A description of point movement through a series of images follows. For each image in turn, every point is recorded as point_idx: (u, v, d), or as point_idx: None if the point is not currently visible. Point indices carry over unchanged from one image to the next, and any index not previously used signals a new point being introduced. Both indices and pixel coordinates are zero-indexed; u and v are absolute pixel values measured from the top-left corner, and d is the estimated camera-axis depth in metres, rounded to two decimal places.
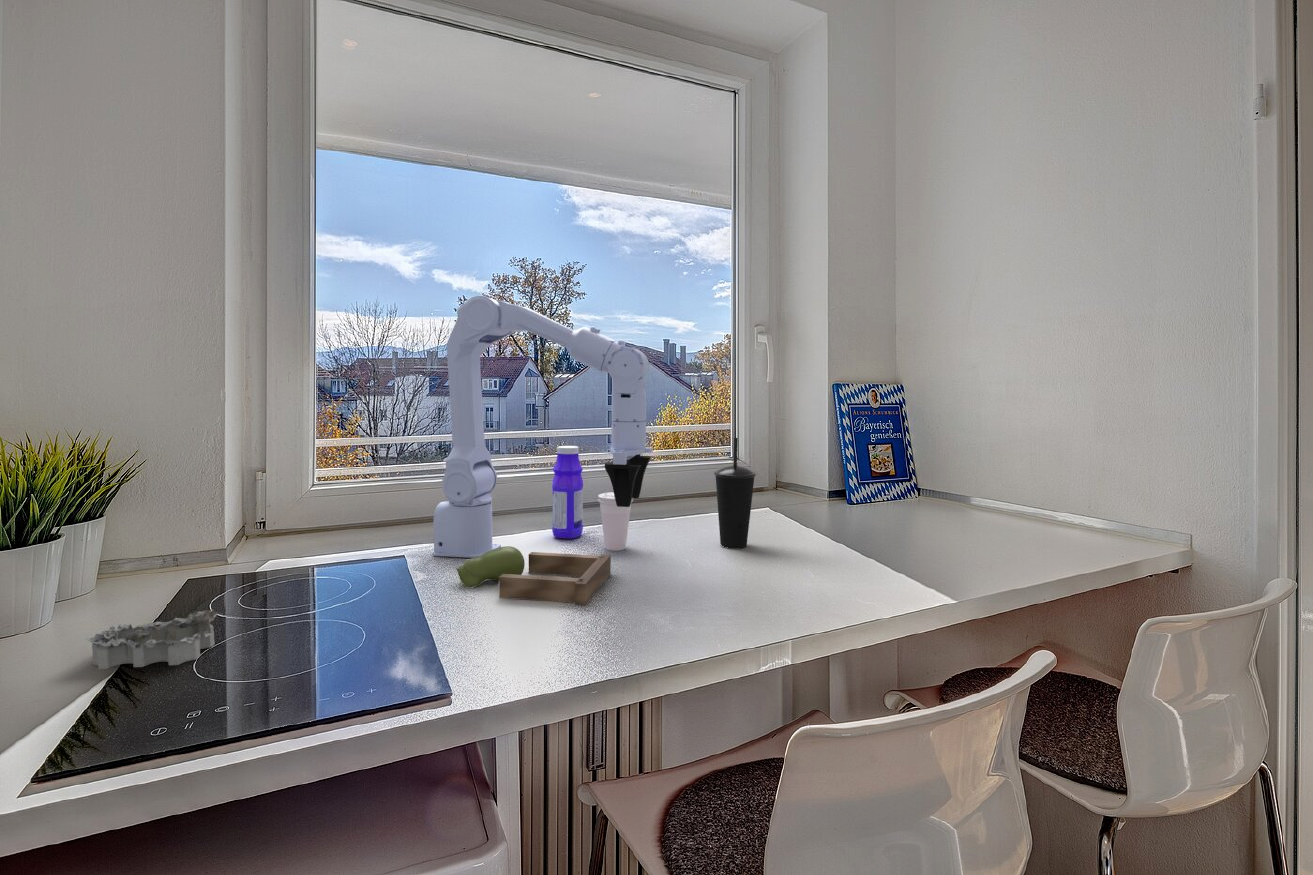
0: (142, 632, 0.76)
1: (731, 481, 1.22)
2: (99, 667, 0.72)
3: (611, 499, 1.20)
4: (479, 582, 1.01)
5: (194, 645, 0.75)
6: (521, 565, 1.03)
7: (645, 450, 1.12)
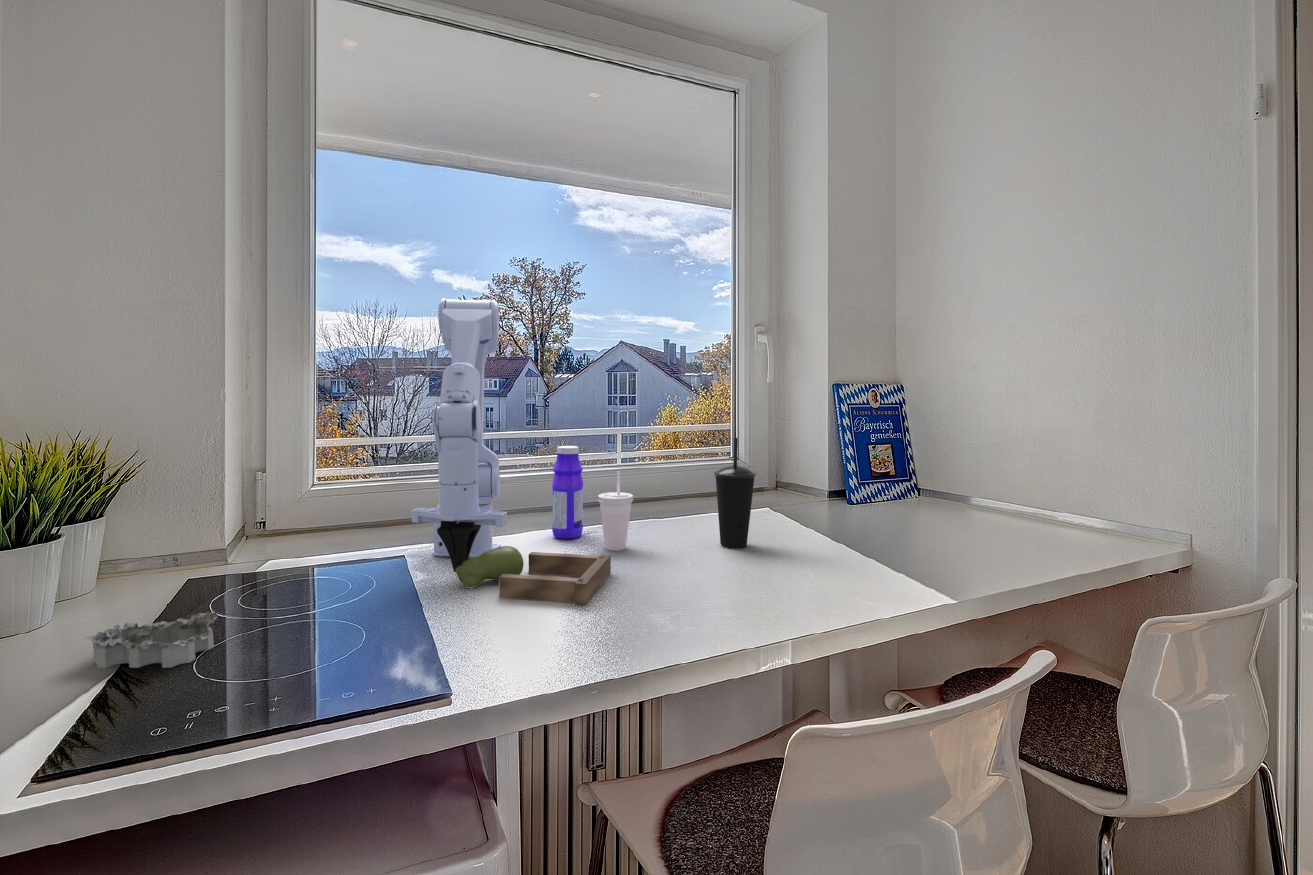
0: (143, 632, 0.76)
1: (731, 481, 1.22)
2: (97, 666, 0.73)
3: (611, 499, 1.20)
4: (478, 582, 1.00)
5: (188, 648, 0.74)
6: (520, 564, 1.03)
7: None
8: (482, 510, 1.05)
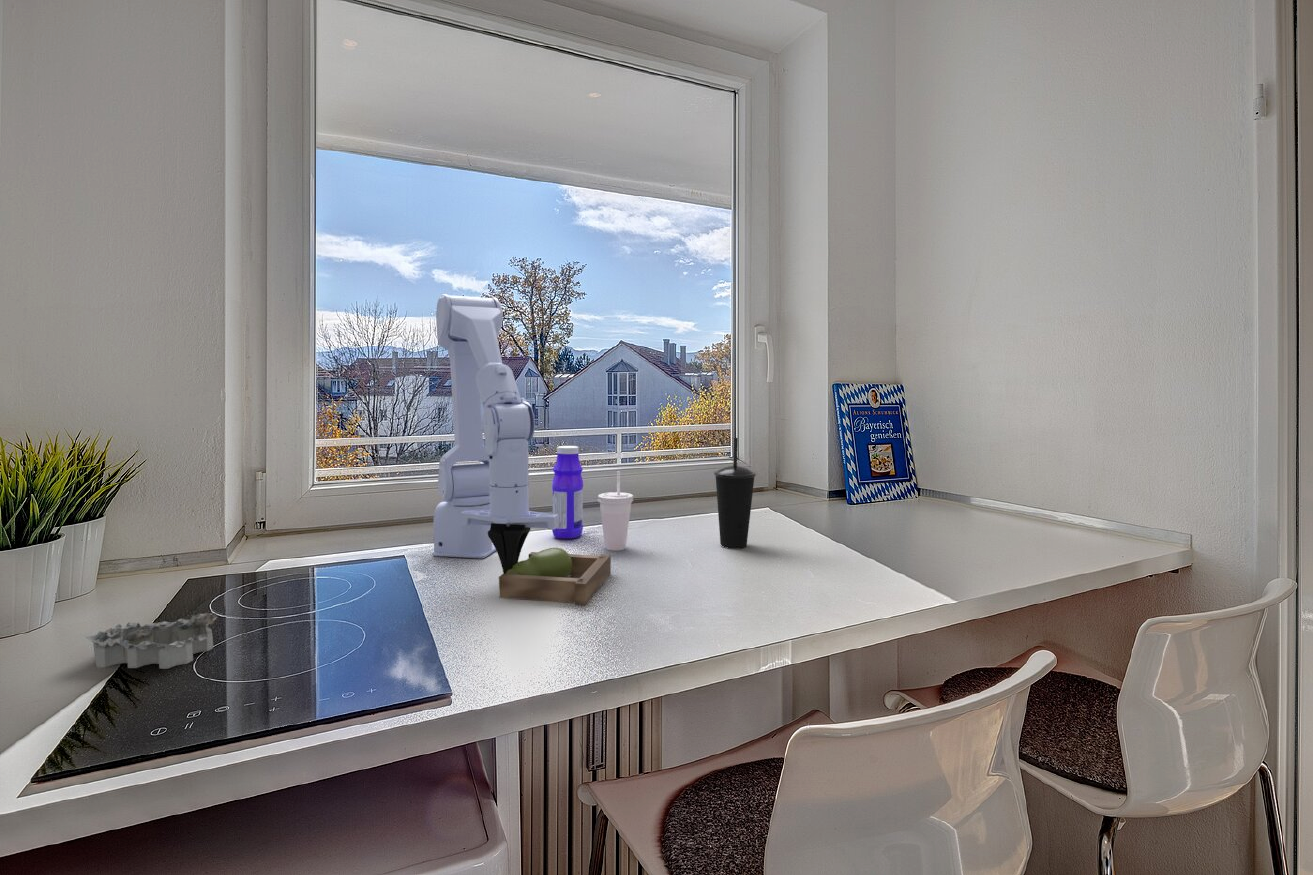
0: (143, 632, 0.76)
1: (731, 481, 1.22)
2: (97, 665, 0.73)
3: (611, 499, 1.20)
4: None
5: (185, 649, 0.74)
6: (570, 565, 1.02)
7: None
8: (532, 512, 1.03)
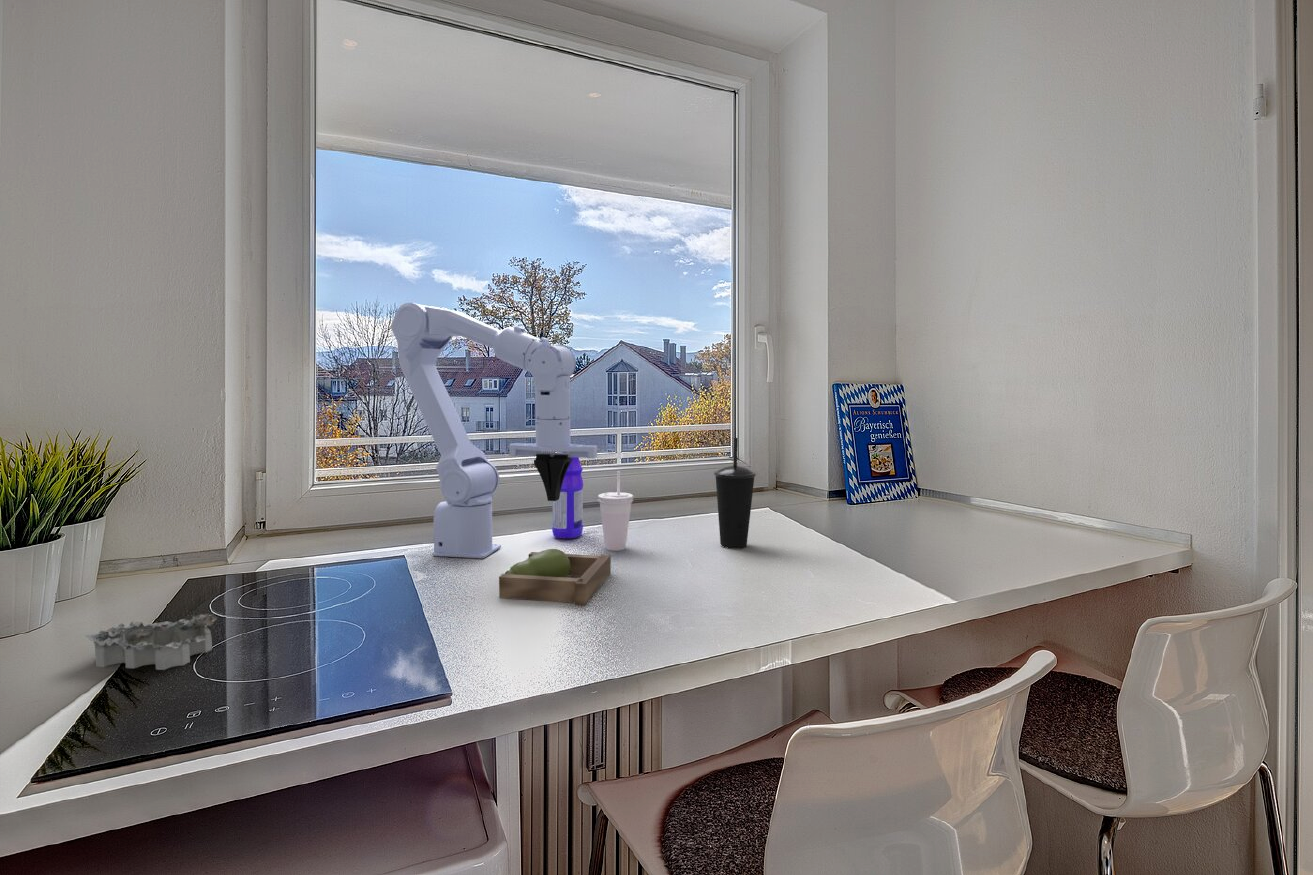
0: (143, 632, 0.76)
1: (731, 481, 1.22)
2: (96, 665, 0.73)
3: (611, 499, 1.20)
4: None
5: (182, 651, 0.73)
6: (569, 567, 1.02)
7: (540, 448, 1.10)
8: (573, 445, 1.14)
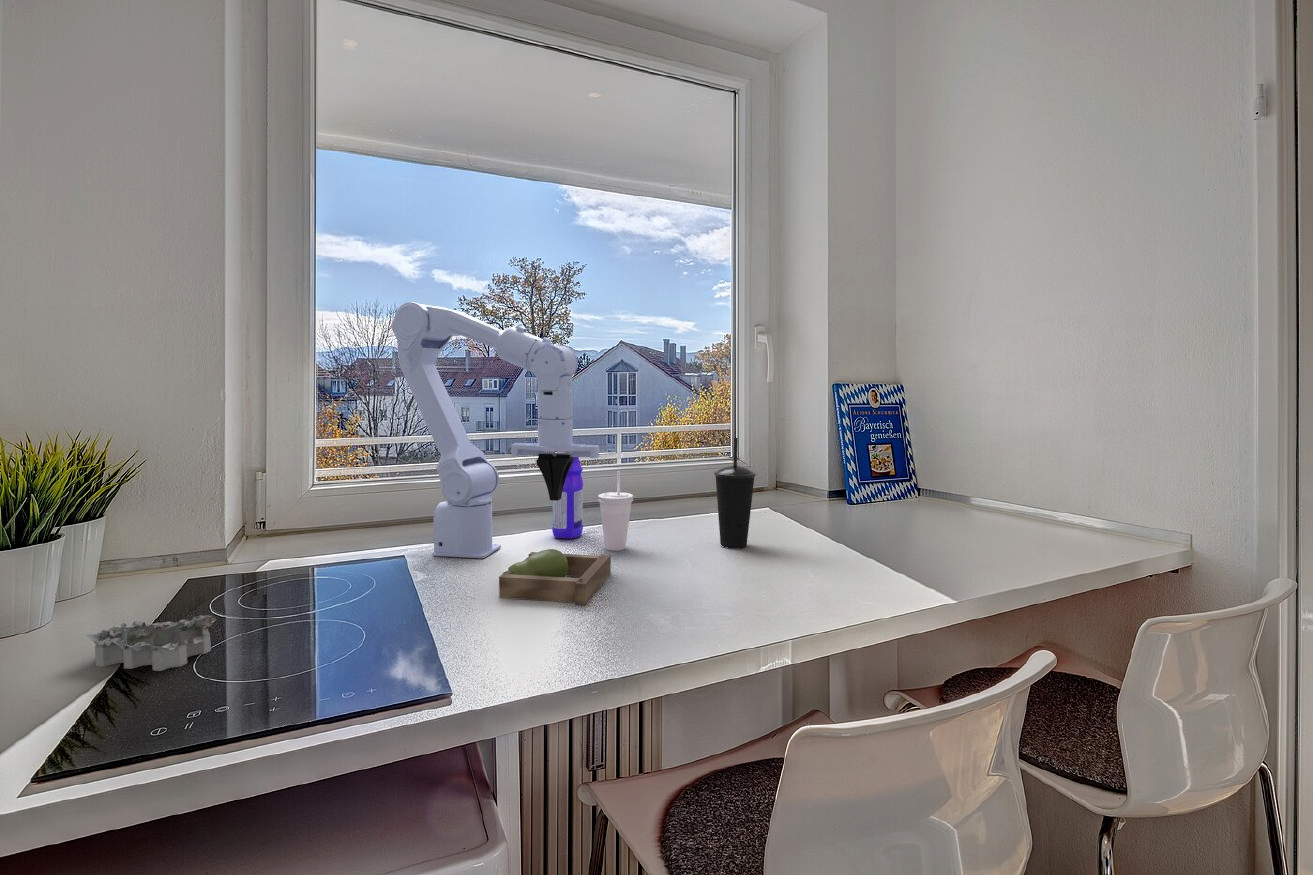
0: (143, 632, 0.76)
1: (731, 481, 1.22)
2: (96, 664, 0.73)
3: (611, 499, 1.20)
4: None
5: (178, 652, 0.73)
6: (567, 567, 1.02)
7: None
8: (575, 445, 1.15)
